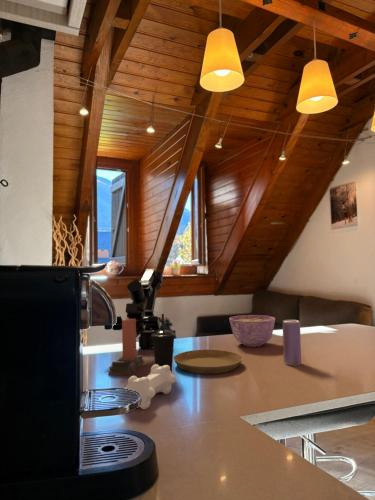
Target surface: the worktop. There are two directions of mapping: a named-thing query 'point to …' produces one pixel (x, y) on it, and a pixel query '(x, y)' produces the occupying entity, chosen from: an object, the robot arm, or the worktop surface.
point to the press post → (129, 340)
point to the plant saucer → (207, 361)
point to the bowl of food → (252, 329)
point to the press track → (124, 366)
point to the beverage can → (291, 342)
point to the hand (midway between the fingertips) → (131, 341)
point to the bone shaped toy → (152, 383)
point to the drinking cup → (163, 346)
